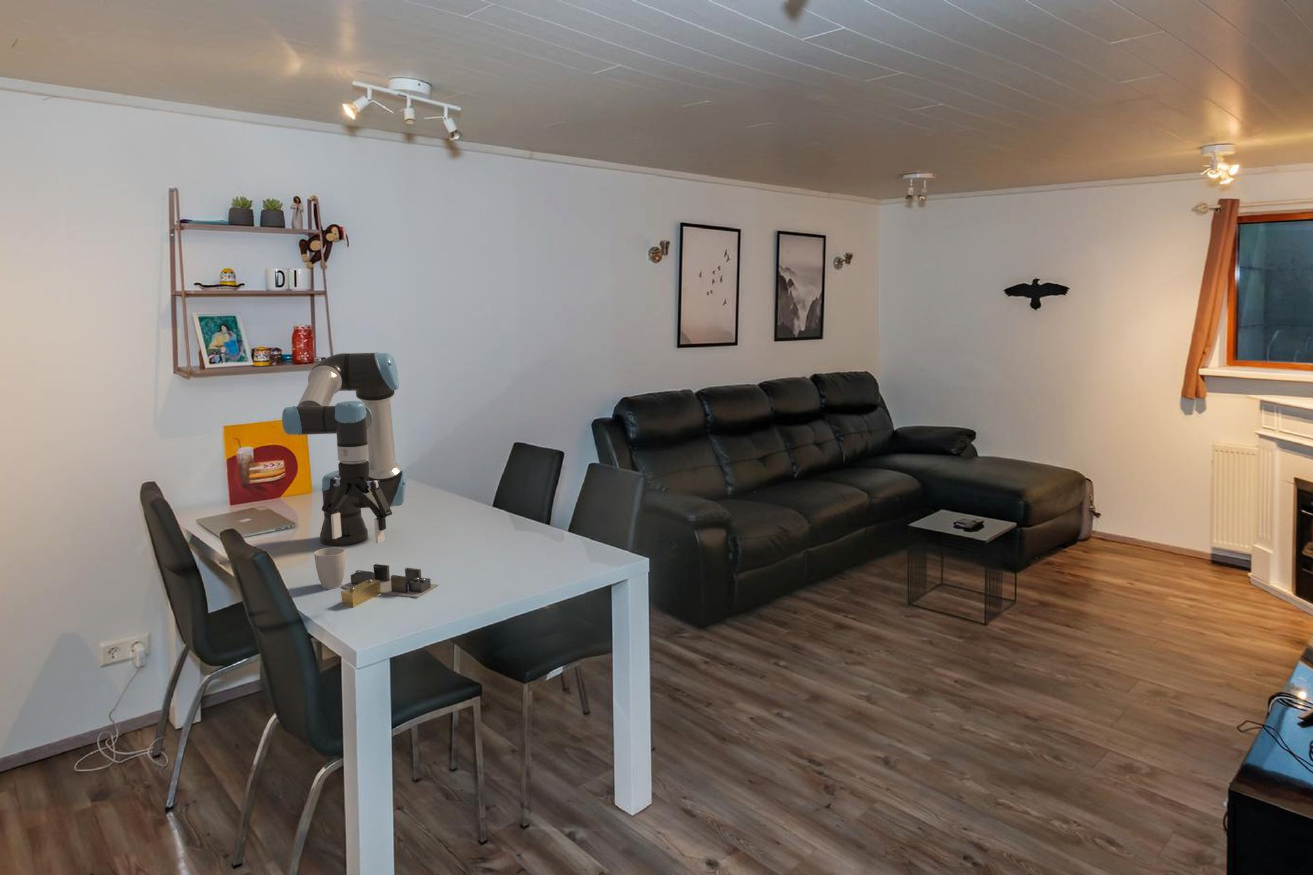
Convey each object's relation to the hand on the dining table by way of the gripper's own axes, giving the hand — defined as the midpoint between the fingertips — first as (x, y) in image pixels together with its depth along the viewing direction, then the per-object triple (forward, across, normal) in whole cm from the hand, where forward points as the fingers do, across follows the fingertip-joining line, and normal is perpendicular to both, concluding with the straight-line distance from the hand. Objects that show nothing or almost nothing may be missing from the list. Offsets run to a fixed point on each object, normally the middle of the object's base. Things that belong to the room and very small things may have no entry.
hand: (358, 539), depth 219 cm
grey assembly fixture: (+16, +1, +11) cm, 20 cm away
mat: (+16, +1, +11) cm, 20 cm away
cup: (+17, -15, +7) cm, 23 cm away
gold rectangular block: (+17, 0, 0) cm, 17 cm away
